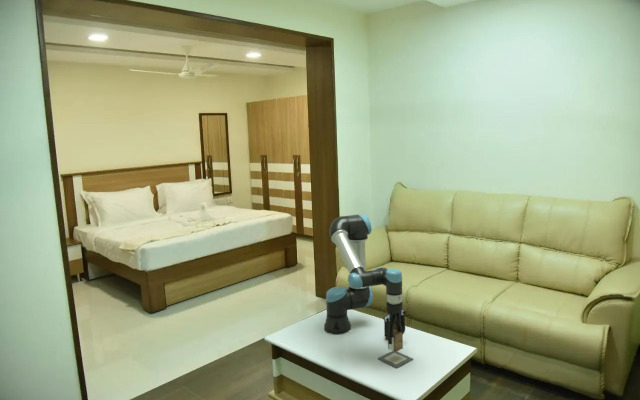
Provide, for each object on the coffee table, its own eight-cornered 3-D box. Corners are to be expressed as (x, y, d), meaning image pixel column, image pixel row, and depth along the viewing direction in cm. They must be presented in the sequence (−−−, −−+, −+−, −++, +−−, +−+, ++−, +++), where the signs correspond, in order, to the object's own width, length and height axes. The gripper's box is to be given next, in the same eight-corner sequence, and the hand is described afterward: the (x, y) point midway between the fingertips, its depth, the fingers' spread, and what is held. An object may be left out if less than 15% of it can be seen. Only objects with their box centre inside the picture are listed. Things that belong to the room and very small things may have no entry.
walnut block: (388, 348, 214) (387, 332, 213) (395, 345, 217) (394, 329, 216) (395, 351, 210) (395, 335, 209) (402, 348, 214) (402, 332, 213)
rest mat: (377, 359, 216) (377, 358, 216) (394, 351, 223) (394, 350, 223) (396, 368, 207) (396, 367, 207) (413, 359, 214) (413, 358, 214)
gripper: (387, 308, 202) (388, 356, 205) (412, 298, 214) (413, 344, 217) (375, 304, 208) (376, 351, 211) (400, 295, 219) (401, 339, 222)
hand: (395, 347), depth 214 cm, fingers closed on walnut block, 5 cm apart
